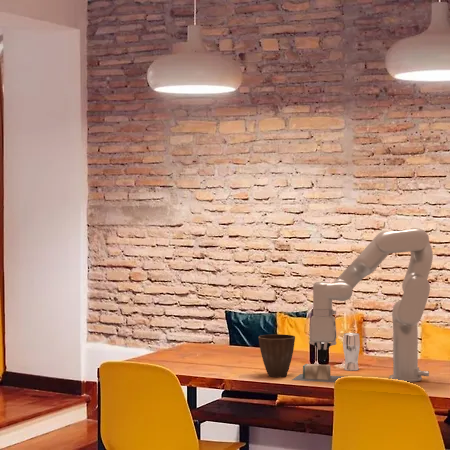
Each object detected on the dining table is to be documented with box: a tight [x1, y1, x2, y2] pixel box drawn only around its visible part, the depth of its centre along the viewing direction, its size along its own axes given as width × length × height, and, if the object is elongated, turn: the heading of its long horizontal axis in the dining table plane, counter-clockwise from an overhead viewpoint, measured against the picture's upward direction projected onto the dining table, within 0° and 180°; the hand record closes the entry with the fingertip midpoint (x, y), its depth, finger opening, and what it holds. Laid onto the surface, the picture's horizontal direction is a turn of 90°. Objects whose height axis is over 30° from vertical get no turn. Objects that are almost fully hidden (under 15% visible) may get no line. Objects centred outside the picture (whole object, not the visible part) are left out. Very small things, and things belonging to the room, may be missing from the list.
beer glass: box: [342, 332, 361, 372], centre depth 413 cm, size 7×7×15 cm
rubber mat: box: [291, 373, 344, 383], centre depth 390 cm, size 22×14×1 cm, turn 71°
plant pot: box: [258, 333, 296, 378], centre depth 400 cm, size 15×15×16 cm
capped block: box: [302, 363, 332, 380], centre depth 391 cm, size 5×5×10 cm
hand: (322, 359), depth 390 cm, fingers closed
